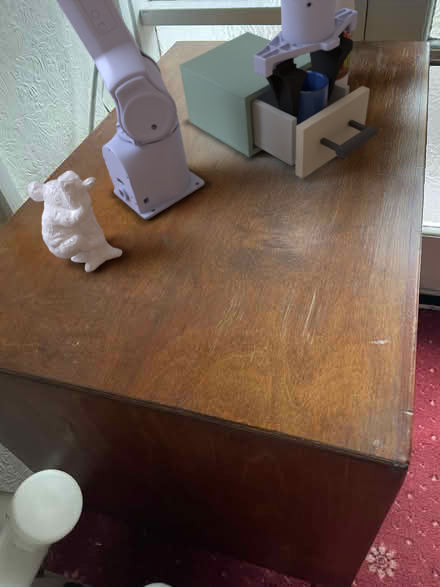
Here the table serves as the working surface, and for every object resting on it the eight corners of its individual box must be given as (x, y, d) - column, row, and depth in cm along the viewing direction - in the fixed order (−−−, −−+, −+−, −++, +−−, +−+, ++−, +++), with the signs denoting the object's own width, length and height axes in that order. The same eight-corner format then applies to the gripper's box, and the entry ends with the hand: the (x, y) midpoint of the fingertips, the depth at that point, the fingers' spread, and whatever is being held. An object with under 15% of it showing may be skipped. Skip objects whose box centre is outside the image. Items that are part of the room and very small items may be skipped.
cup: (306, 136, 57) (307, 98, 53) (276, 121, 60) (275, 83, 56) (335, 118, 59) (338, 79, 55) (304, 104, 61) (305, 66, 58)
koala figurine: (138, 244, 55) (107, 157, 45) (109, 286, 51) (69, 201, 42) (79, 230, 57) (39, 146, 48) (48, 269, 54) (-3, 186, 44)
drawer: (387, 149, 59) (397, 99, 54) (325, 192, 55) (330, 142, 50) (294, 106, 68) (295, 59, 62) (236, 140, 64) (231, 93, 59)
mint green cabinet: (314, 118, 67) (317, 57, 60) (249, 157, 63) (244, 97, 56) (251, 88, 74) (247, 31, 67) (189, 122, 70) (179, 65, 63)
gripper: (285, 21, 43) (286, 147, 54) (386, -29, 48) (368, 96, 58) (236, 4, 47) (245, 125, 57) (334, -40, 52) (326, 79, 62)
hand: (304, 109), depth 58 cm, fingers closed on cup, 5 cm apart
